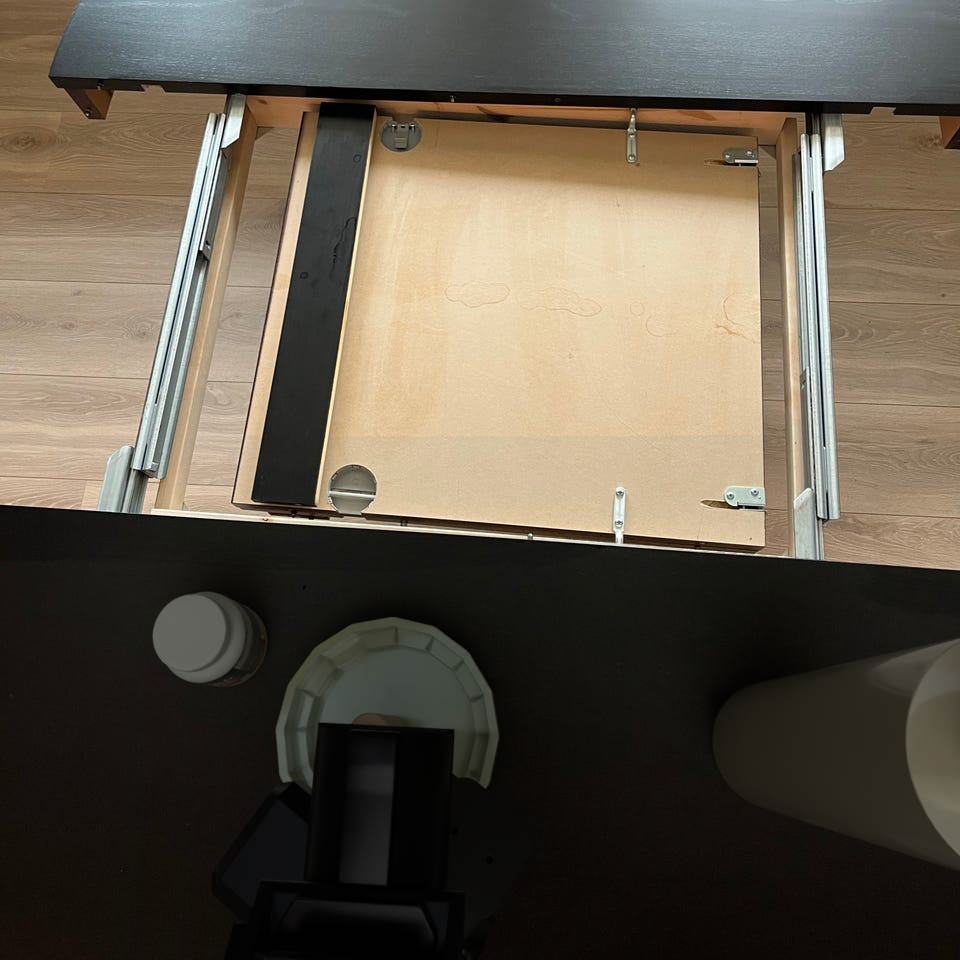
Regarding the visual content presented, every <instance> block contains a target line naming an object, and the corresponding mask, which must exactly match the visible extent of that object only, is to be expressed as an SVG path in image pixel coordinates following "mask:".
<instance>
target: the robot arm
mask: <svg viewBox="0 0 960 960" xmlns="http://www.w3.org/2000/svg"><path fill="white" fill-rule="evenodd" d="M454 737H455V729H442V728H423V727H403V726H383V725H363V724H343V723H323V722H318V730H317V741H316V751H315V762H314V772H313V783H312V788H311V787H310V786H308V785H307V784H306V783H305V782H304V781H302V780H295V781H289V782H284V783H283V782H280V783H279V782H278V784H277V785H276V786H275V787H274V788H273V789H272V790H271V791H270V792H269V793H268V794H267V796H266V797H265V799H264V800H263V802H262V803H261V804H260V806H259V807H258V809H256V810H255V812H254V813H253V815H252V817H251V818H250V819H249V820H248V822H247V824H246V825H245V826H244V827H243V829H242V830H241V831H240V833H239V834H238V836H237V837H236V838H235V840H234V841H233V842H232V844H231V845H230V847H229V848H228V850H227V851H226V852H225V854H224V855H223V856H222V857H221V859H220V861H219V862H218V864H217V865H216V867H215V869H214V871H213V872H212V874H211V895H212V896H213V897H214V898H215V899H217V901H218V902H219V903H221V904H222V905H223V906H224V907H225V908H226V909H228V911H230V912H231V913H232V914H233V915H234V916H235V917H236V918H238V919H239V921H241V922H236V921H235V922H233V925H232V928H231V932H230V936H229V938H228V942H227V946H226V950H225V953H224V956H223V960H479V959H480V957H481V955H482V954H483V952H484V949H485V944H486V941H487V940H488V939H489V937H490V935H491V933H492V932H493V930H494V929H495V927H496V924H495V923H496V922H495V916H494V913H496V911H497V910H498V908H499V907H500V905H501V904H502V902H503V901H504V899H505V897H506V895H507V894H508V893H509V891H510V889H511V887H512V886H513V885H514V883H515V882H516V879H517V877H518V876H519V875H520V874H521V871H522V870H523V868H524V866H525V865H526V863H527V861H528V860H529V859H530V856H531V855H532V853H533V851H534V848H535V845H536V844H535V843H536V838H535V833H534V830H533V827H532V826H531V825H530V823H529V822H528V821H526V820H525V819H524V818H523V817H522V816H521V815H519V814H518V813H517V812H515V810H514V809H512V808H511V807H509V805H507V804H505V803H504V802H503V801H502V800H500V799H499V798H498V797H497V796H496V795H494V794H493V793H492V792H491V791H489V790H488V788H487V789H485V788H484V787H483V786H482V785H480V784H479V783H478V782H476V781H475V780H473V779H471V778H467V777H461V778H458V777H457V776H455V775H454V774H453V756H454Z"/></svg>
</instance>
